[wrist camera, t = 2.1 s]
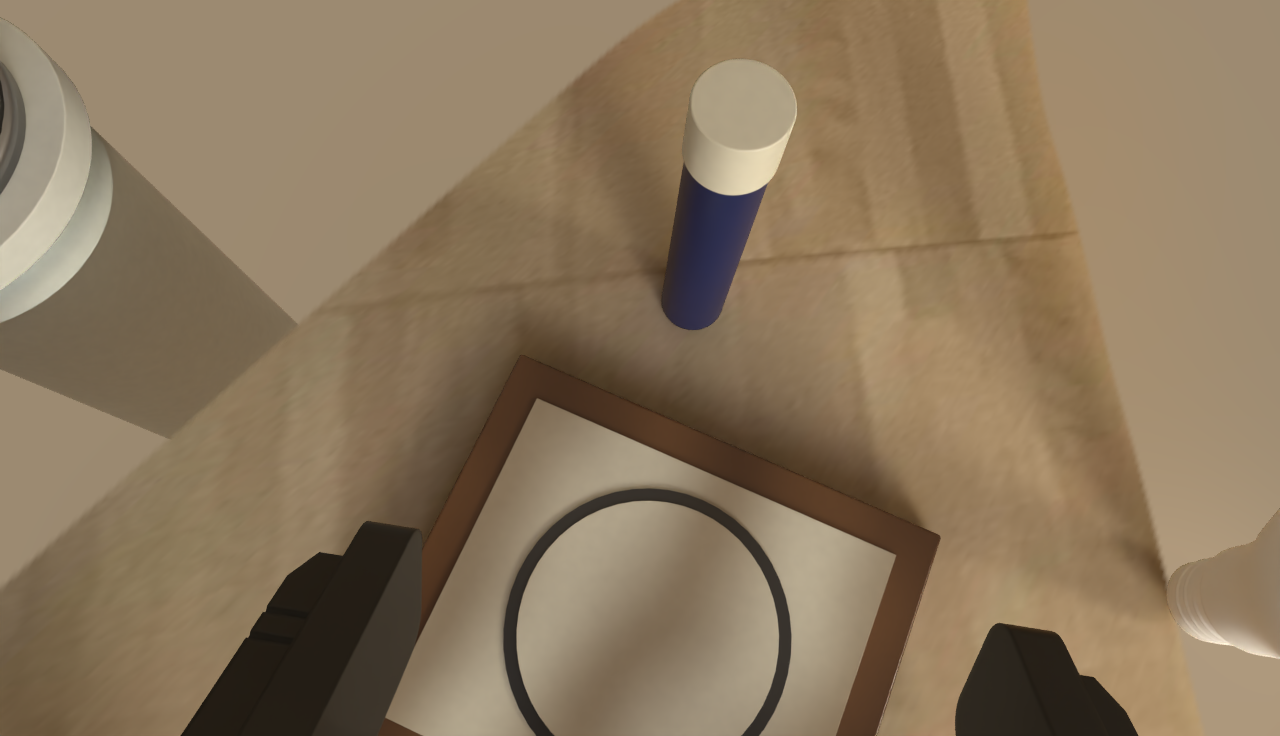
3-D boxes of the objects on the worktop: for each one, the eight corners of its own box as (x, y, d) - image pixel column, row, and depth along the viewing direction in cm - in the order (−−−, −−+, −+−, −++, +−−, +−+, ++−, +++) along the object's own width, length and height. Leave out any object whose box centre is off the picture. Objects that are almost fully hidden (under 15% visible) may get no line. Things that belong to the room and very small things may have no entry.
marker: (647, 317, 30) (672, 126, 18) (674, 260, 30) (714, 42, 19) (710, 343, 30) (774, 167, 18) (735, 286, 30) (812, 81, 19)
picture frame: (336, 733, 25) (322, 739, 24) (523, 361, 29) (519, 350, 28) (794, 956, 24) (804, 973, 23) (930, 538, 28) (945, 534, 27)
